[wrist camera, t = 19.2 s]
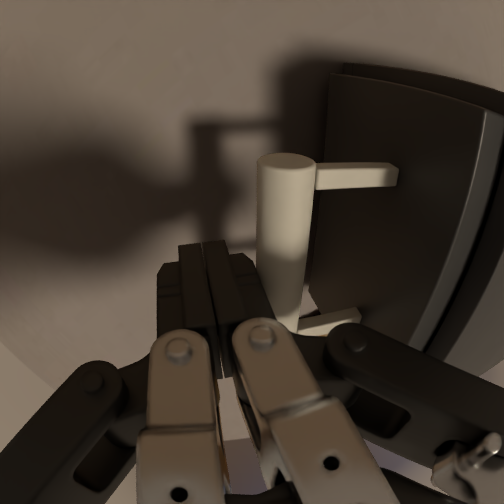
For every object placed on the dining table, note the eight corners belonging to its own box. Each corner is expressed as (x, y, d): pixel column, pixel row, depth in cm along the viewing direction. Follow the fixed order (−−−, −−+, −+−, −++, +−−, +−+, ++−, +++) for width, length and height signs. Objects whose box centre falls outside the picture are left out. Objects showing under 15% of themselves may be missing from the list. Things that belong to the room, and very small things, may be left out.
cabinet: (318, 284, 19) (397, 421, 11) (343, 62, 12) (542, 106, 4) (469, 253, 22) (542, 328, 14) (507, 107, 14) (613, 163, 6)
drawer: (233, 303, 17) (273, 437, 10) (225, 69, 10) (310, 73, 4) (462, 257, 20) (526, 324, 14) (501, 113, 13) (595, 161, 7)
